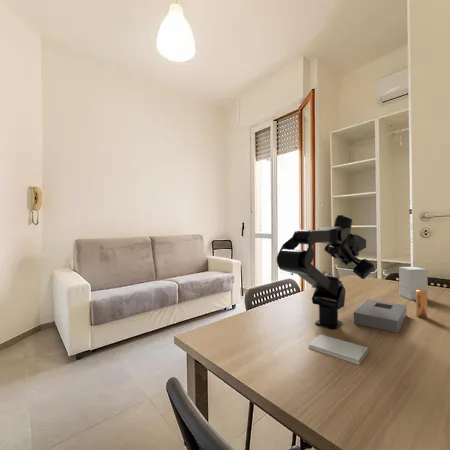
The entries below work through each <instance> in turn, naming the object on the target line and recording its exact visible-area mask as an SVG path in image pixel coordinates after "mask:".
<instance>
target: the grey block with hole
mask: <svg viewBox="0 0 450 450" xmlns="http://www.w3.org/2000/svg"><path fill="white" fill-rule="evenodd" d="M407 308H408V307H407V305H405V304H397V303H393V302H389V301H387V302H386V301H383V300H382V301H381V300H376V299H375V300H374V299H367V300H365V301H364V302H363V303H362V304H361V305H360V306H359V307H358V308H357V309H356V310H355V311H353V324H358V325H362V326H365V327H370V328H374V329H379V330H384V331H386V332H392V333H396V334H398V333H399V331H400V329H401V327H402V326H403V323H404V322H405V320H406V318H407V315H408V314H407V313H408V312H407Z"/></svg>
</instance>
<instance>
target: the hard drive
mask: <svg viewBox="0 0 450 450" xmlns="http://www.w3.org/2000/svg"><path fill="white" fill-rule="evenodd" d="M308 348H309V349H311V350H314V351H317V352H320V353H323V354H326V355H329V356H333V357H336V358H338V359H340V360H344V361H347V362H350V363H353V364H357V365H360V364H361V363H362V361H363V360H364V359H365V357H366V356H367V354H369V347H366V346H362V345H360V344H356V343H353V342H349V341H346V340H345V341H344V340H341V339H339V338H335V337H331V336H328V335H323V334H319V335H318V336H316V338H315V339H313V340H312V341H311V342H310V343H309V344H308Z"/></svg>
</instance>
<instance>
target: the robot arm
mask: <svg viewBox="0 0 450 450" xmlns="http://www.w3.org/2000/svg"><path fill="white" fill-rule="evenodd" d="M336 215H337V214H336ZM352 226H353V219H352V218H350V217H347V216H344V215H343V214H338V215H337V216H336V218H335V219H334V225H333V226H321V227H318V229H317V230H316V229H315V230H314V229H313V230H311V229H297V230H295V231H294V232H293V235H292V237H290V238H289V239H287V240H286V241H285V242H284V243H283V244H282V246H281V248H280V250H279V252H277V256H276V263H277V266H278V268H279V270H281V271H284V272H288V273H292V274H296V275H297V276H298V277H300V278H301V279H303V280H304V281H305V282H307V283H308V284H309V285H311V286H312V287H313V288H315V289H314V291H313V294H312V297H311V302H312V304H313V305H318V319H317V321H315V322H314V325H317V326H322V327H324V328H328V329H333V330H336V329H337V328H338V327H340V325H342V323H343V321H341V320H339V310H340V309H341V308H343V307H345V299H346V288H345V286H344V284H343V280H342V281H341V280H340V279H339V277H338V276H337V277H336V276H333V277H330V276H325V275H323V274H322V273H323V272H321V271H320V270H319V269H318V268H317V267H315V266H314V265H313V264H312V263H313V261H314V258H315V255H316V253H315V250H314V247H313V246H314V244H316V243H317V244H319V243H320V244H326V245H325V246H324V251H325V253H327V254H328V255H329V256H331V257H332V258H334V259H337V260H338V261H340V262H341V263H342V264H344V265H345V266H347V265H348V264H351V263H352V264H354V266H355V267H353V269H352V272H353V274H355V275H356V276H357V277H358V278H360V279H361V280H365V279H366V278H367V277H368V276H369V275H370V274H371V273H372V272H373V271H374V270H375V269H376V266H375V265H374V264H373V263H372V262H371V261H369V260H368V259H366V258H364V259H362V260H361V259H359V258H358V256H359V255H360V252H361V251H363V250H364V249H366V248H367V240H366V239H365V238H364V237H362V236H361V235H359V234H355V233H354V234H353V233H351V230H352ZM299 245H308V247H307V249H306V250H302V249H296V248H297V247H298V246H299ZM321 298H325V299H321Z"/></svg>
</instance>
